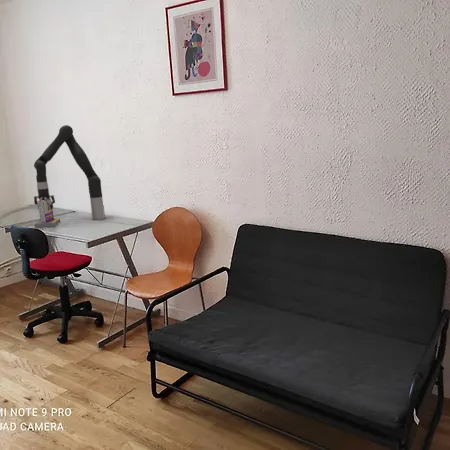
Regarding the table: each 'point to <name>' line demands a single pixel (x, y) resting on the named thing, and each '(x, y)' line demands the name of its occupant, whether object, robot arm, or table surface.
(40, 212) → the candy bar box
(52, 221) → the loading dock
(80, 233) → the table surface
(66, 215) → the table surface
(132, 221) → the table surface
